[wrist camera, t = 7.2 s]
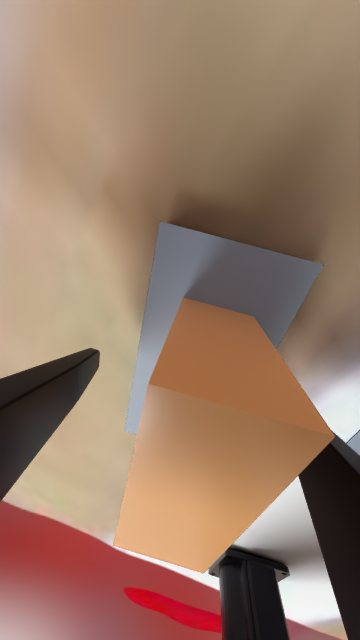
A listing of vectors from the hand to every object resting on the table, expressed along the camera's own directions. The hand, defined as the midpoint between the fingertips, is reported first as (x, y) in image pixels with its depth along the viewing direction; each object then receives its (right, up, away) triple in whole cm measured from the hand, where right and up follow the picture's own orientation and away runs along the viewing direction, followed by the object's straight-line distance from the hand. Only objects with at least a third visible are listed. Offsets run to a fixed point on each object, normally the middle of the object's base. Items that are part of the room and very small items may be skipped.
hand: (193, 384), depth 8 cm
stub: (0, +1, +2) cm, 2 cm away
